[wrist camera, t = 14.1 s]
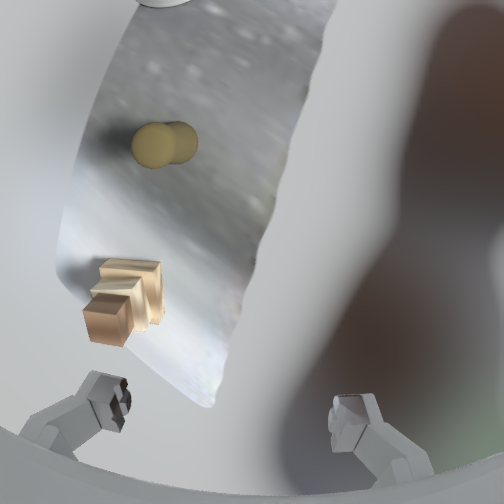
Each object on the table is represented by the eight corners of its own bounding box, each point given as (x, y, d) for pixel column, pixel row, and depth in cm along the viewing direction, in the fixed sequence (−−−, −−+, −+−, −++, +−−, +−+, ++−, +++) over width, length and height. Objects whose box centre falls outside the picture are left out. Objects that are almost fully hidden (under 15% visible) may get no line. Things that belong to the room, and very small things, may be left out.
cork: (149, 154, 41) (115, 162, 30) (166, 115, 39) (135, 110, 28) (187, 171, 41) (163, 183, 31) (205, 131, 39) (185, 129, 29)
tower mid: (101, 278, 44) (90, 290, 40) (141, 276, 43) (132, 289, 40) (113, 317, 46) (103, 331, 43) (152, 317, 46) (144, 332, 42)
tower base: (110, 257, 47) (99, 267, 43) (161, 261, 47) (153, 272, 43) (117, 305, 50) (107, 317, 46) (165, 311, 50) (158, 324, 46)
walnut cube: (98, 292, 40) (82, 310, 35) (129, 295, 40) (115, 315, 35) (104, 322, 42) (90, 341, 37) (134, 326, 42) (122, 347, 37)
